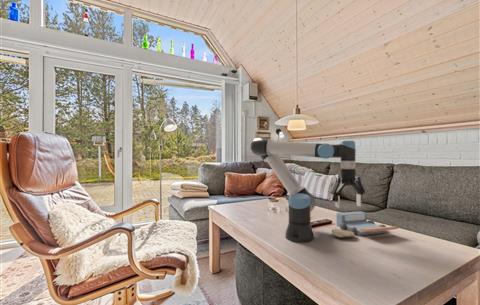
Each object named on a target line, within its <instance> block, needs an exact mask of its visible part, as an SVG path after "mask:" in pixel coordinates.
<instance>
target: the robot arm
mask: <svg viewBox="0 0 480 305" xmlns="http://www.w3.org/2000/svg"><path fill="white" fill-rule="evenodd" d="M250 150H251V153H252V154H254V156H255V155H256V156H258V157H260V158H261V160H262V161H263V162H265V163H267V164H268V165H269V167H270V168H271V170H272V171H273V172H274V174H275V175H276V177H277V178H278V180H279V181H280V183H281V184H282V186H283V187H284V188H285V190H286V191H287V193H288V224H287V227H286V231H285V239H286V240H287V241H290V242H292V243H297V244H298V243H300V244H302V243H303V244H304V243H312V242H313V241H314V240H315V235H314V230H313V228H312V225H311V224H312V223H311V213H312V211H313V210H314V208H315V207H316V199H315V196H314V195H313V194H312V193H310V191H308V189H307V188H306V187H305V186H302V185H301V184H300V183H299V182H298V180H297V178H296V177H295V176H294V174H293V173H292V171H291V170H290V169H289V167H288V166H287V165H286V163H285V162H284V160H283V159H282V157H281V155H283V156H297V157H305V158H306V157H308V158H309V157H310V158H319V159H331V158H334V159H335V158H337V159H338V158H339V159H340V168H341V169H340V175H341V177H338V176H337V177H335V182H334V184H333V187H332V190H331V191H330V194H331V195H333V196H334V198H333V199H334V200H333V201H334V202H335V204H334V206H335V208H338V209H340V208H341V205H340V204H341V201H340V200H341V198H340V194H341V192H342V191H343V189H344V188H345V187H346V186H351V187H352V188H353V190H355V192H356V206H357V207H362V200H363V195H364V194H366V190H365V188H364V185H363V184H362V181H361V177H360V176H356V175H357V174H356V173H357V172H356V164H357V163H356V162H357V161H356V151H357V150H356V142H355V141H354V140H341V141H340V143H339V144H330V143H315V142H299V141H298V142H297V141H295V142H294V141H281V140H279V141H278V140H273V139H271V138H270V137H263V136H258V137H255V138H254V139H252V141H251V142H250Z"/></svg>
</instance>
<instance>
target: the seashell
mask: <svg viewBox="0 0 480 305" xmlns="http://www.w3.org/2000/svg"><path fill="white" fill-rule="evenodd" d="M331 235H332V236H335V237H337V238H338V239H339V238H340V239H341V238H343V239H344V238H350V237H353V236H355V235H354V233H353V232H351V231H347V230H342V229H337V228H334V229H332V230H331Z"/></svg>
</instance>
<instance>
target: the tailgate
mask: <svg viewBox="0 0 480 305" xmlns="http://www.w3.org/2000/svg"><path fill="white" fill-rule="evenodd" d="M398 229H399V226H386V227H379V228H368V229H360V230H361V231H372V232H374V231H384V230H386V231H393V230H398Z"/></svg>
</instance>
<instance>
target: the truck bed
mask: <svg viewBox="0 0 480 305" xmlns="http://www.w3.org/2000/svg"><path fill="white" fill-rule="evenodd" d="M367 218H368V216H367V212H364V211H349V212H336V227H338V228H340V230H346V231H351V232H353V233H354V235H353V236H355V235H356V236H367V235H368V236H369V235H376V234H377V235H378V234H382V233H383V234H384V233H386V232H387V230H384V231H374V232H372V231H361V230H360V229H368V228H379V227H387V226H386V225H385V224H379V225H378V224H375V221H373V220H368V219H367Z"/></svg>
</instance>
